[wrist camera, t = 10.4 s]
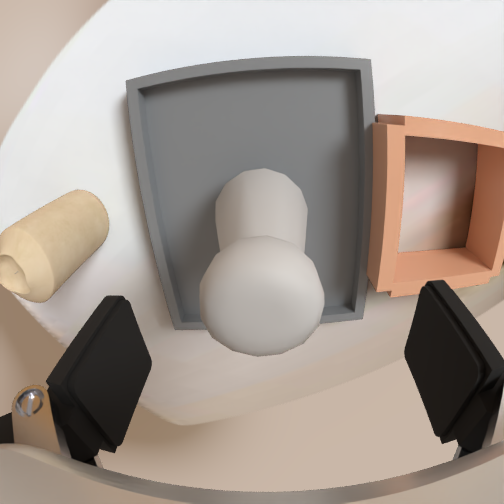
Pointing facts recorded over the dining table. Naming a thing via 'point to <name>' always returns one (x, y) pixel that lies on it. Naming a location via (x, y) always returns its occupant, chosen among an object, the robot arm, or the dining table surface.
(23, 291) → the candle
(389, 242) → the open container
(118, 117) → the dining table surface
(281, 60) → the tray
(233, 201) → the salt shaker
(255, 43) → the dining table surface
